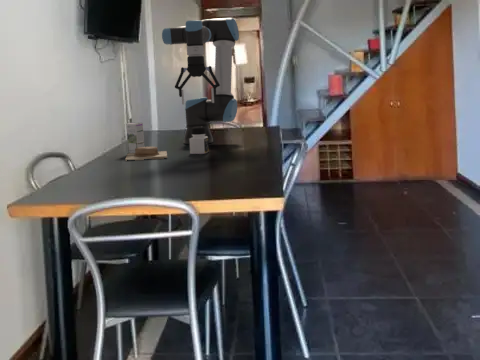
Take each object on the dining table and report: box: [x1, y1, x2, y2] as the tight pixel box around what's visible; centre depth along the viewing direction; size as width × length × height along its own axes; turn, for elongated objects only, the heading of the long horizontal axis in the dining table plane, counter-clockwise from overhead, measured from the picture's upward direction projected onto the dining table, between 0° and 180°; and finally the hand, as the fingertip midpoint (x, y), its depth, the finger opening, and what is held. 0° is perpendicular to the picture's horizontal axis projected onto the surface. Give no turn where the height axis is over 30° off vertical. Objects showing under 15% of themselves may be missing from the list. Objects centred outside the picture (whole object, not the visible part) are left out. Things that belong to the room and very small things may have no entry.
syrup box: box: [125, 122, 145, 153], centre depth 289 cm, size 6×6×14 cm
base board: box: [125, 146, 168, 162], centre depth 276 cm, size 18×18×4 cm
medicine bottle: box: [189, 127, 210, 155], centre depth 282 cm, size 7×7×12 cm
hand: (198, 103), depth 279 cm, fingers open, 13 cm apart
